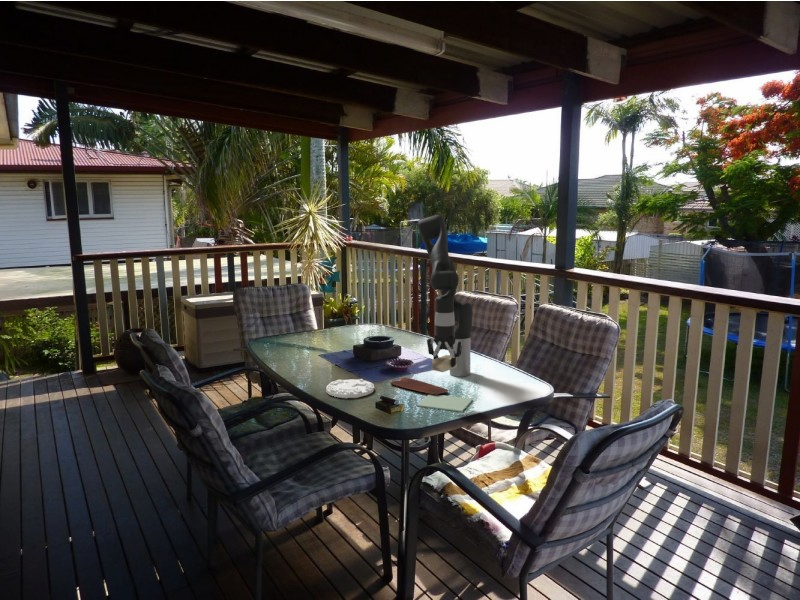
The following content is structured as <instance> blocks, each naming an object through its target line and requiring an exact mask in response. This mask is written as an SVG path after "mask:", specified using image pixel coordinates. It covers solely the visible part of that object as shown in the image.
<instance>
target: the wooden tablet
mask: <svg viewBox="0 0 800 600" xmlns="http://www.w3.org/2000/svg"><path fill="white" fill-rule="evenodd" d="M389 384H391V385H392V386H396V387H399V388H404V389H408V390H413V391H416V392H419V393H420V392H421V393H425V394H428V395H429V394H436V395H442V394H443V393H448V391H449V389H447V388H444V387H442V386H438V385H434V384H432V383H428V382H425V381H422V380H419V379H414V378H409V377H402V378H401V379H399V380H392V381H391V382H389ZM449 392H450V391H449Z"/></svg>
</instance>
